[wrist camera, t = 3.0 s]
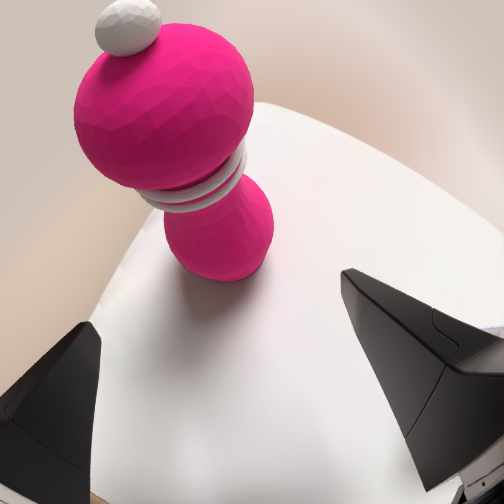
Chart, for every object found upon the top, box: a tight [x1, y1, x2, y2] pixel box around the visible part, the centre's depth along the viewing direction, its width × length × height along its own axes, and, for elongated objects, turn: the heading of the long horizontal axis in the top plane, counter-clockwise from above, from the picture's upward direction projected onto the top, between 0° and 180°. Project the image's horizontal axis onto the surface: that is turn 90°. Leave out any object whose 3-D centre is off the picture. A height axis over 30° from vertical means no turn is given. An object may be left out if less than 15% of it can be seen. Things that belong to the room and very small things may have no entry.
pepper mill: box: [74, 0, 274, 282], centre depth 14 cm, size 7×7×20 cm
